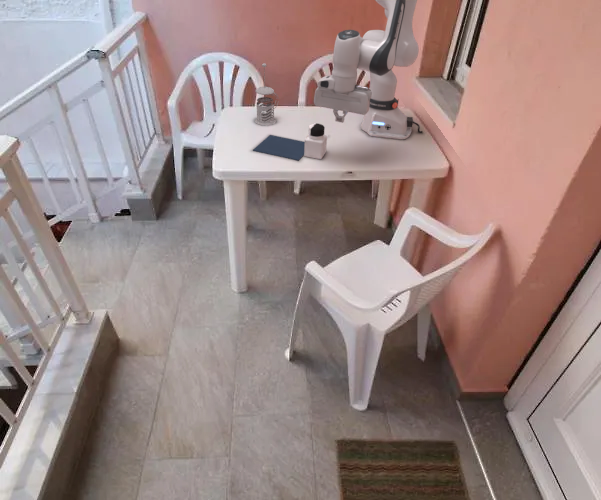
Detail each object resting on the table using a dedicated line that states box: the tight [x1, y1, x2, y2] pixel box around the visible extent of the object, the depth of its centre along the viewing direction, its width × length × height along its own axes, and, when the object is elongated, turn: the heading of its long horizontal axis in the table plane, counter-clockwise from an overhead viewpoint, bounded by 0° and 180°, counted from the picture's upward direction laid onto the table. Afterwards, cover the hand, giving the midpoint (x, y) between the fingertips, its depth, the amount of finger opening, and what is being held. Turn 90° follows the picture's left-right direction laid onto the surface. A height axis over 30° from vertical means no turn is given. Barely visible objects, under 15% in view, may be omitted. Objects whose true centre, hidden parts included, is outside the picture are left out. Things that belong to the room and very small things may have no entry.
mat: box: [252, 134, 305, 162], centre depth 169 cm, size 20×16×1 cm
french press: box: [254, 62, 279, 126], centre depth 182 cm, size 10×12×25 cm
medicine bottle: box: [303, 123, 328, 160], centre depth 161 cm, size 7×7×12 cm
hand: (339, 121), depth 153 cm, fingers closed
